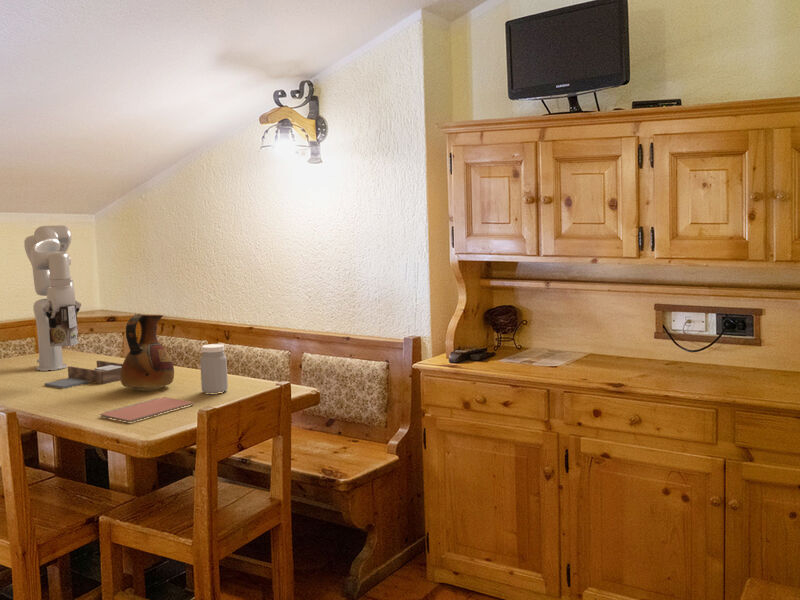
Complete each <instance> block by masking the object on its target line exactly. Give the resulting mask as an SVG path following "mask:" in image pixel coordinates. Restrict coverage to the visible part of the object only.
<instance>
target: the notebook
mask: <svg viewBox="0 0 800 600" xmlns="http://www.w3.org/2000/svg"><path fill="white" fill-rule="evenodd" d="M191 404H193V405H194V404H195V402H194V401H189V400H184V399H178V398H171V397H167V396H163V397H156V398H152V399H149V400H145V401H142V402H137V403H133V404H129V405H125V406H123V407H122V406H121V407H118V408H115V409H112V410H107V411H105V412H102V413H99V415H100V418H101V417H105V418H104V419H106V418H112V419H116V420H121V421H126V422H134V421H137V420H140V419H144V418H147V417H151V416H154V415H158V414H160V413H164V412H167V411H170V410H174V409H177V408H181V407H184V406H188V405H191Z"/></svg>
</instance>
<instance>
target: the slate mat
mask: <svg viewBox="0 0 800 600" xmlns="http://www.w3.org/2000/svg"><path fill="white" fill-rule="evenodd" d="M86 383H87V384H90V382H89V380H83V379H76V378H68V377H67V378H63V379H59V380H53V381H49V382H44V386H45V385H46V386H45V387H49V386H51V387H50V388H54V387H57V388H56V389H60V388H65V389H69V388H68V387H70V388H73V387H72V386H74V387H77V386H76V385H78V386H82V385H81V384H83V385H86Z"/></svg>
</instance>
